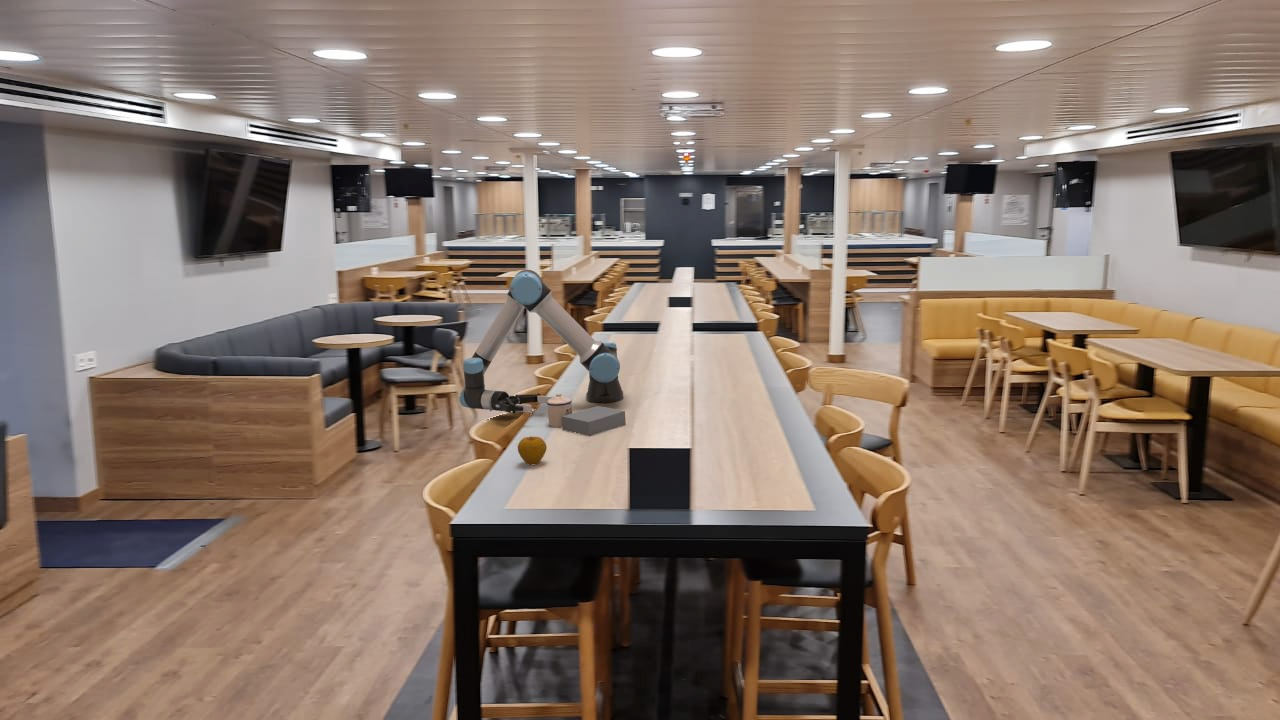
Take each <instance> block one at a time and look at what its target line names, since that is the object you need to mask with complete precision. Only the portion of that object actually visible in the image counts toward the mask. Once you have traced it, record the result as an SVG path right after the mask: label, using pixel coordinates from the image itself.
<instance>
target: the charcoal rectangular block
mask: <svg viewBox="0 0 1280 720" xmlns="http://www.w3.org/2000/svg"><path fill="white" fill-rule="evenodd" d="M625 425H626V410H623V409H616V408H612V407H605V406H600V405H596V406H593V407H589V408H586V409H582V410H579V411H576V412H572V414H568V415H565V416H562V427H561V428H562V431H565V430H566V431H565V432H569V431H571V433H574V432H576V433H575V434H578V433H580V434H579V435H583V436H587V435H588V437H591V436H593V435H597V434H600V433H603V432H606V431H609V430H612V429H616V428H618V427H622V426H625Z"/></svg>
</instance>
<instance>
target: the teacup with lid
mask: <svg viewBox="0 0 1280 720" xmlns="http://www.w3.org/2000/svg"><path fill="white" fill-rule="evenodd" d="M552 397H553V398H552V399H549V400H548V401H547V414H548V415H547V417H548V425H549V426H550V427H551V428H562V416H565V415H568V414H572V413H573V410H572V402H573V401H572V399H571V398H570V397H566V396H565V395H562V392H561V393H560V392H556V394H555V396H552Z"/></svg>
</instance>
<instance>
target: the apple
mask: <svg viewBox="0 0 1280 720" xmlns="http://www.w3.org/2000/svg"><path fill="white" fill-rule="evenodd" d="M547 448H548V447H547V444H546V442H545V440H544V439H543V438H541V437H539V436H531V435H530V436H526V437H523V438H521V439H520V440H519V442H518V444H517V452H518V454H519V456H520V458H521V459H522V460H523V461H524V463H526V464H527V465H528V464H529V466H533V465H532V464H536V465H538V464H540V463H541V461H542V459H543V458H544V456H545V453H546V452H547ZM537 463H538V464H537Z"/></svg>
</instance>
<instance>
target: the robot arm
mask: <svg viewBox="0 0 1280 720" xmlns="http://www.w3.org/2000/svg"><path fill="white" fill-rule="evenodd" d="M524 309H526V310H527V311H528V312H529V313H535V314H537V315H538V317H540V318H541V319H542V321H544V322H545V324H547V325H548V327H549V328H551V330H552V331H554V332H555V334H557V336H558V337H559V338H560V339H561V340H562V341H564V343H566V344H567V346H568V347H569V348H570V349H571V350H572V351H574V352H575V354H576V355H578V357H579V363H580V364H581V365H582V366H583V367H584V368H585V369H586V370H587V371H588V376H589V378H588V379H589V381H588V385H587V386H588V388H587V392H586V394H585V399H587V400H588V401H587V400H586V401H587V402H589V401H591V402H590V403H594V402H602V403H603V402H608V403H614V401H615V402H619V401H621V400H623V399H624V391H623V390H622V386H621V384H620V381H619V373H620V370H621V363H620V359H618V347H617V344H616V342H603V341H601V340H600V341H597V340H595V339H594V338H593V337H592V336H591V335H590V333H588V332H587V331H586V330H585V328H583V327H582V326H581V325H580V324H579V323H578V321H576V320H575V319H574V318H573V317H572V315H570V313H568V312H567V310H565V308H564V307H562V306H561V305H560V303H559V302H558V301H556V299H555V298H553V291H552V289H550V288H549V287H548V286H547V285H546V283H544V282H543V280H542V278H541V276H540V275H539V274H538V273H537V272H536V271H533V270H531V269H523V270H520V271H519V272H518V273H516V275H515V276H514V277H513V279H512V280H511V281H510V286H509V290H508V291H507V293H506V300H505V302H504V304H503V305H502V307H501V308H500V310H499V312H498V313H497V315H496V316H495V318H494V320H493V322H492V323H491V325H490V327H489V328H488V330H487V332H486V333H485V335H484V336H483V338H482V340H481V342H480V343H479V345H478V346H477V348H476V350H475V351H474V353H473V355H472V357H469V358H466V359H464V360H463V362H462V370H463V377H464V388H463V389H462V390H461V392H460V393H459V395H460V396H459V397H458V398H459V403H460V405H461V406H462V407H464V408H466V409H467V408H468V409H473V410H474V409H476V410H477V409H479V410H489V412H492V411H496V412H497V411H498V412H506V413H508V414H511V413H512V414H513V415H515V414H516V412H517V413H518V412H519V413H528V414H532V413H533V408H532V407H533V406H532V405H531V404H533V403H537V404H545V405H546V404H547V401H548V400H549V399H552V398H553V397H554V396H548V395H547V396H546V395H542V394H541V393H533V394H515V395H509V394H508V392H507V391H502V390H493V389H491V390H490V389H486V385H485V373H486V371H487V370H488V368H489V366H490V365H491V363H492V362H493V360H494V359H495V356H496V355H497V354H498V351H499V350H500V348H502V347H501V346H502V345H503V344H504V343H505V340H506V339H507V337H508V335H509V333H510V332H511V331H512V330H513V328H514V326H515V324H516V322H517V321H518V319H519V317H520V316H521V315H522V313H523V311H524ZM618 400H619V401H618ZM602 403H601V404H602ZM603 404H604V403H603ZM547 405H548V404H547Z"/></svg>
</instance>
